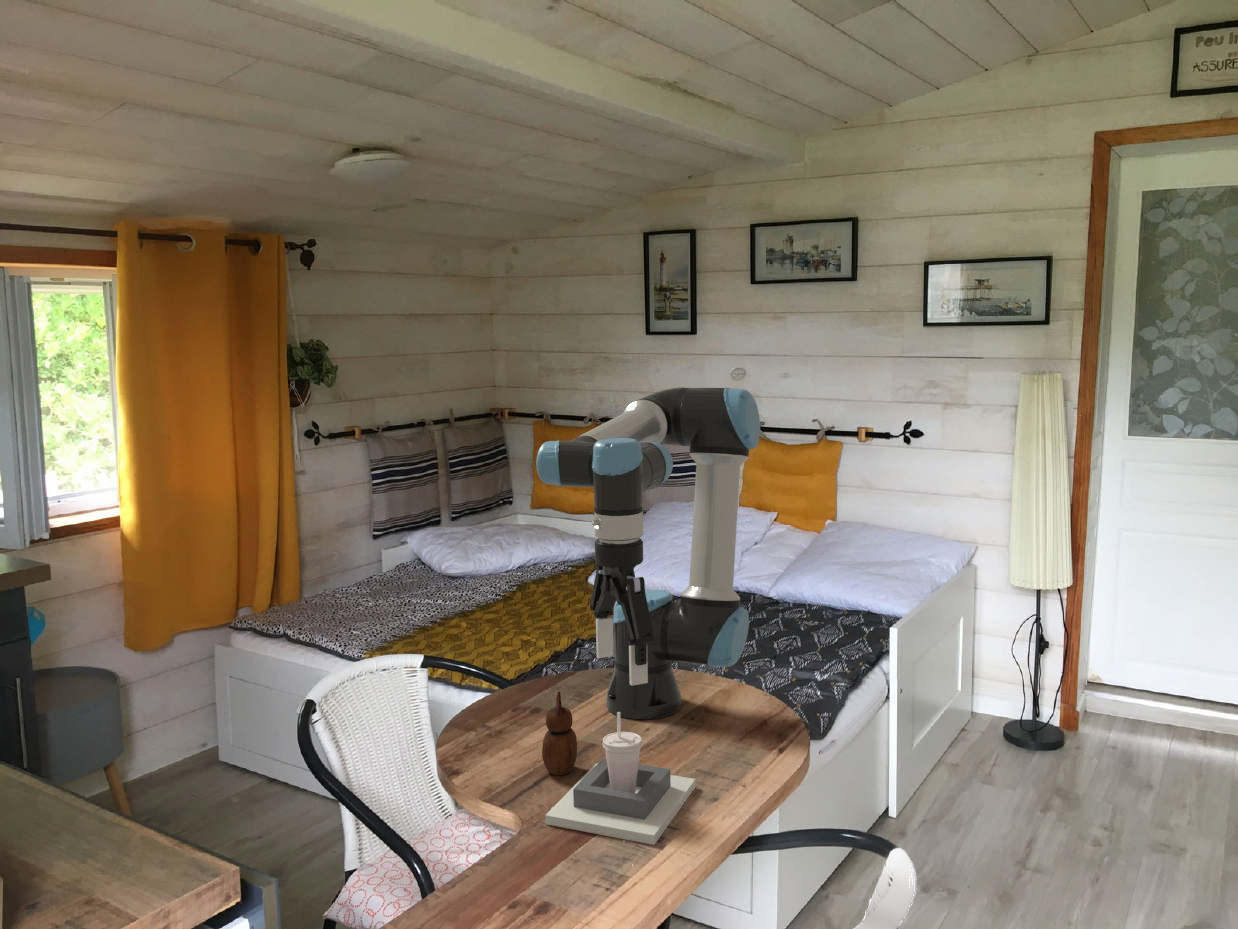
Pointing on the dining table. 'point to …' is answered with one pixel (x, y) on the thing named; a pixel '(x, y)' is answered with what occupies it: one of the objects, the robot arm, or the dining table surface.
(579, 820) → the socket board
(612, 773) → the smoothie
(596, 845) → the dining table surface
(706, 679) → the dining table surface
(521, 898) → the dining table surface
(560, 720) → the wooden figurine
